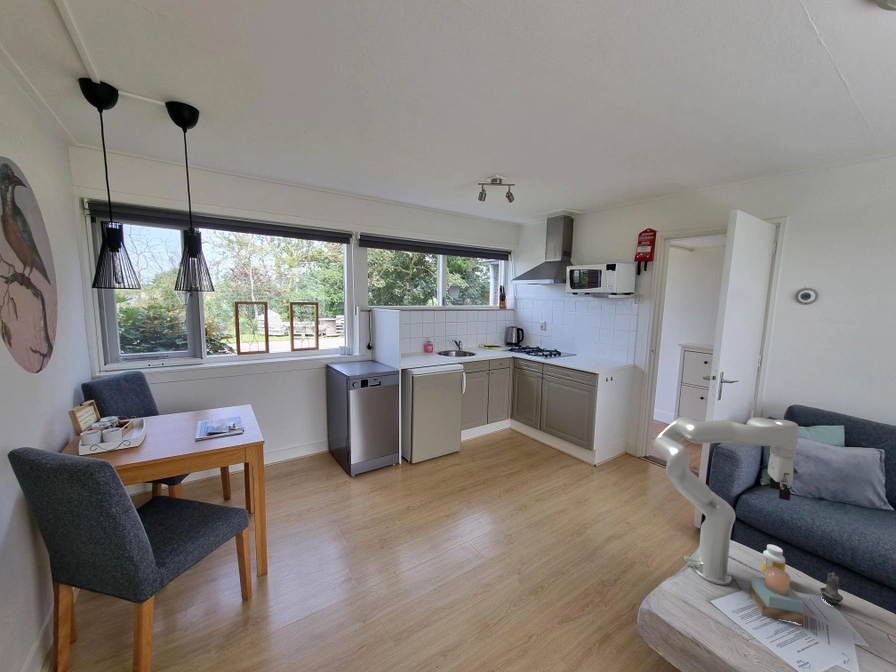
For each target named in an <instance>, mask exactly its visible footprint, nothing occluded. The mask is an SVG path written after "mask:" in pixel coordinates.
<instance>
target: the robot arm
mask: <svg viewBox="0 0 896 672" xmlns="http://www.w3.org/2000/svg"><path fill="white" fill-rule="evenodd" d="M798 437H799V425H798V423H796V422H794V421H791V420H787V419H779V418H778V419H770V418H765V417H759V416H757V417H752V418H749V419H748V420H747V421H746V424H745V423H740V422H736V421H733V420H732V421H731V420H725V419H722V420H720V419H719V420H707V421H706V420H702V421H698V420H694V419H692V418H690V417H689V416H682V417H678V418H676V419H674V421H672V422H671V423H670V424H669V425H668V426H666V428H665V429H664V430H663V431H661V432H660V433H659V434H658V435H657V436H656V437H655V438H654V440H653V449H654V450H655V452H656V453H657V454H659V455H660V456H661V457H663V458H664V460H666V467H665V473H666V477H667V479H668V480H669V481H670V482H671V483H672V485H673V487H674V489H675V490H676V491H678V492H679V494H680V495H682V496H683V497H684V498H685V499H686V500H687V501H688V502H690V503H691V505H693V506H694V507H695V508H696V509H698V510H699V512H701V513H702V514H703V515H704V516H705V519H704V521H703V522H702V523H701V527H700V535H699V546H698V547H699V548H698V555H697V554H696V555H695V557H694V556H693V557H691V556H688V555H684V558H683V559H684V561H685V562H688V564H689V565H690V566H692V568H693V570H694V572H695V573H697V575H699V576H700V577H701V578H703V579H704V580H706V581H708V582H710V583H712V584H716V585H719V586H720V585H721V586H726V585H730V584H731V583H732V576H731V574H730V573H729V572H728V567H729V566H728V565H729V555H730V544H731V535H732V529H733V525H734V523H735V521H736V512H735V510H734V508H733V507H732V506H731V505H730V504H729V502H727V501H726V500H724V499H723V498H721V496H719V495H717V494H716V493H715V492H714V491H712V490H711V489H710V488H709V485H708V484H706V482H704V481H703V480H702V479H700V477H698V476H697V475H696V474H695V473H694V472H693V471H692V470H691V469H690V462H691V456H690V455H691V454H690V452H689V449H687V448H686V447H685V446H684V445H683V444H682V442H683V441H684V439H685V440H687V441H688V442H690V443H693V444H697V445H703V444H715V443H716V444H717V443H732V444H733V443H734V444H739V445H740V444H741V445H747V446H757V447H758V446H761V447H768V446H769V447H770V448H769V454H770V455H769V460H768V464H767V474H768V475H769V483H768V487H769V488H770V489H775V490H778V499H779V500H783V501H790V500H791V493H792V488H793V481H794V460H796V459H797V449H798V440H799V438H798Z"/></svg>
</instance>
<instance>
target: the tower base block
mask: <svg viewBox="0 0 896 672" xmlns="http://www.w3.org/2000/svg"><path fill="white" fill-rule="evenodd" d="M749 587H750V588H749V594H750V596H751V598H752V600H753V601H754V604H755V605H756V607H757V608H758V609H757V610H758V611H759V612H760V614H761V616H763V617H768V618H770V617H771V619H774V618H775V619H774V620H777V619H781V620H786V621H791V622H796V623H798V624H802V625H803V624H804V616H803V614H801V613H796V612H791V611H786V610H781V609H775V608H770V607H768V606H767V605H766V604H765V602H764V601H763V600H762V599H761V597H760V596H759V595H758V594H757V592H756V591H755V590H754V589H753V587H752V583H750V586H749ZM781 620H780V621H781Z"/></svg>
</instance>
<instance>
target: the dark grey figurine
mask: <svg viewBox="0 0 896 672" xmlns="http://www.w3.org/2000/svg"><path fill="white" fill-rule="evenodd" d="M825 582H826V583H825V584H826V585H825V587H820V589H819V590H820V592H821V597H822V599H824V601H825V600H826V602H827V603H828V604H830V605H831V606H833V607H834V609H837V610H839V609H842V605H841V604H840V603H841V602H842V601H843V600H844V597H843V596H842V595H841V594H840V593H839V588H840V585H839V584H840V583H839V582H840V577H839V576H838V575H837V574H836V572H835V571H832V572H828V574H827V580H825ZM833 607H832V608H833Z"/></svg>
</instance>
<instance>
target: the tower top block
mask: <svg viewBox="0 0 896 672" xmlns="http://www.w3.org/2000/svg"><path fill="white" fill-rule="evenodd" d="M751 578H752V579H751V584H752V587H753V589H754V590H755V591H756V592H757V594H758V595H759V596H760V597H761V599H762V600H763V601H764V602H765V604H766V605H767V606H768V607H770V608H775V609H781V610H786V611H791V612H796V613H801V614H802V615H803V614H804V605H805V602H804V601H803V600H802V599H801V598H800V597H799V596H798V595H797V594H796V593H795V592H794V590H793V589H791V587H790V586H789V594H788V595H787V596H783V595H779V594H776V593H774V592H772V591H770V590H769V589H768V588H767V587H766V586H765V578H764V577H760V576H755V575H752V576H751Z"/></svg>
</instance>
